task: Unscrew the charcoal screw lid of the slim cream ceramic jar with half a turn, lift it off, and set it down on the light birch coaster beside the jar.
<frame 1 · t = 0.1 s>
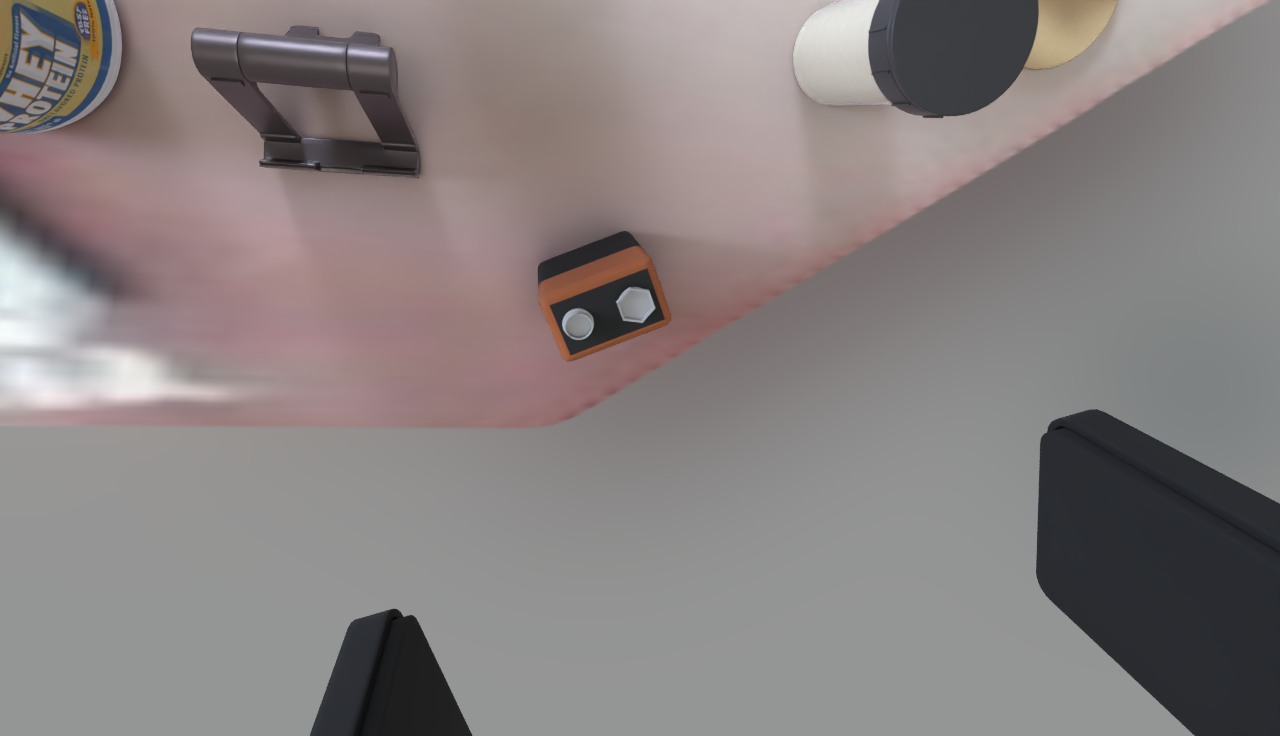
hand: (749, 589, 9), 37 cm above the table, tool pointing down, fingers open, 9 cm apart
lid: (960, 32, 30), point 13 cm above the table, screwed on, not yet turned
jar: (837, 55, 42), on the table
tablet stand: (342, 103, 39), on the table
supplement tub: (7, 12, 35), on the table
battery: (592, 274, 45), on the table
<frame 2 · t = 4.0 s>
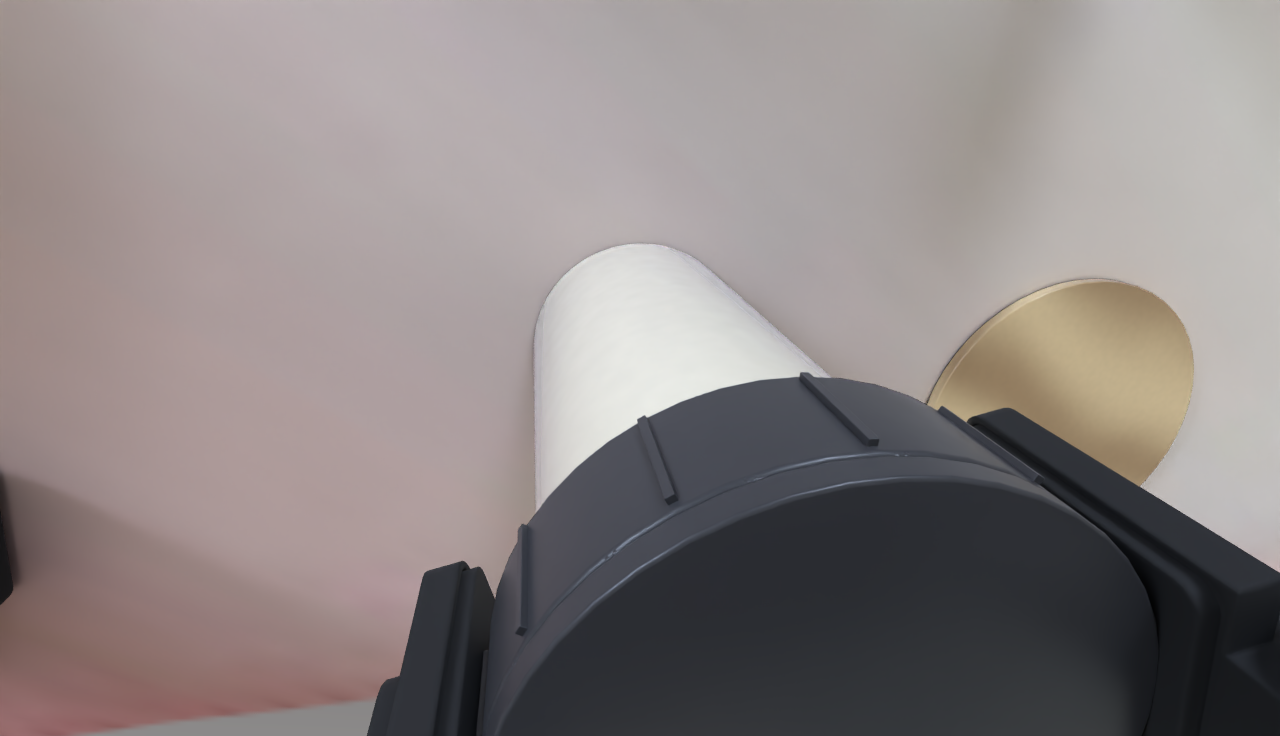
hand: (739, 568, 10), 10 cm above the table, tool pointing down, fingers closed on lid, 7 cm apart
jar: (637, 346, 19), on the table
coaster: (1051, 418, 22), on the table
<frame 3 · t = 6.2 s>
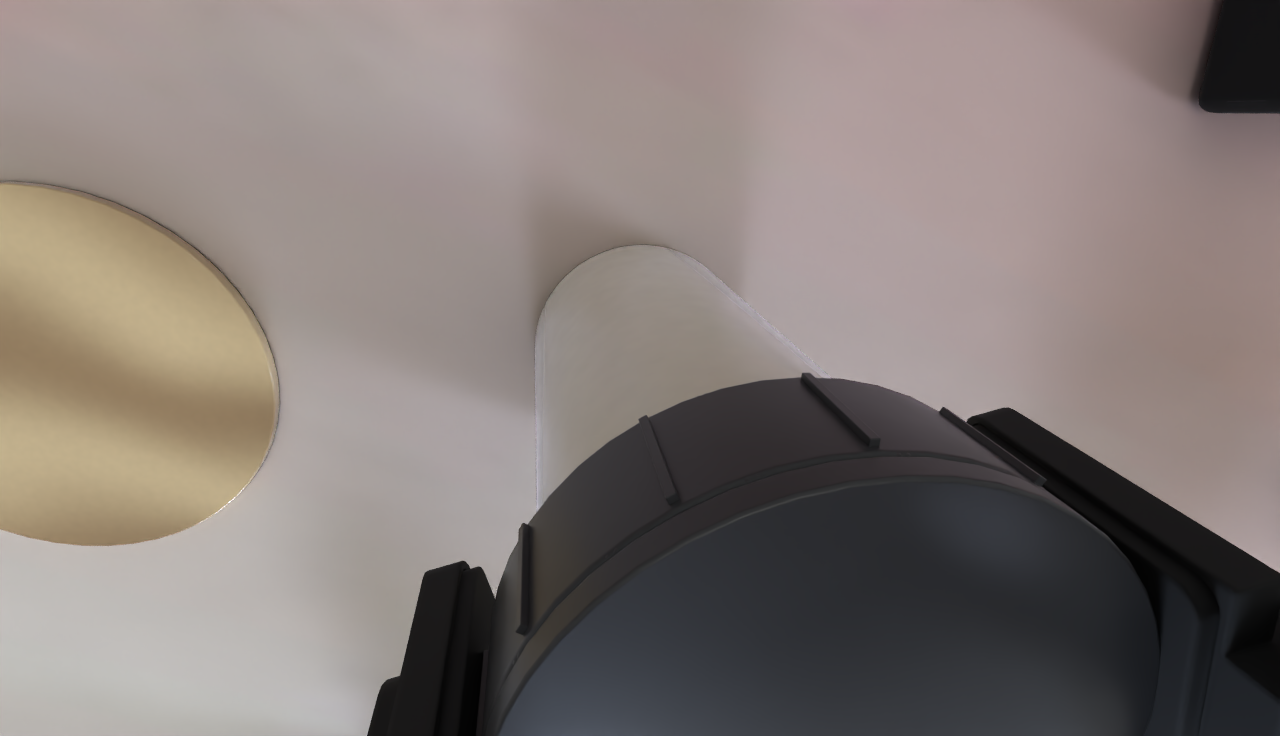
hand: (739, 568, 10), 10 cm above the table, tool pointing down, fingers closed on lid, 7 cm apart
jar: (638, 347, 19), on the table
coaster: (73, 378, 17), on the table
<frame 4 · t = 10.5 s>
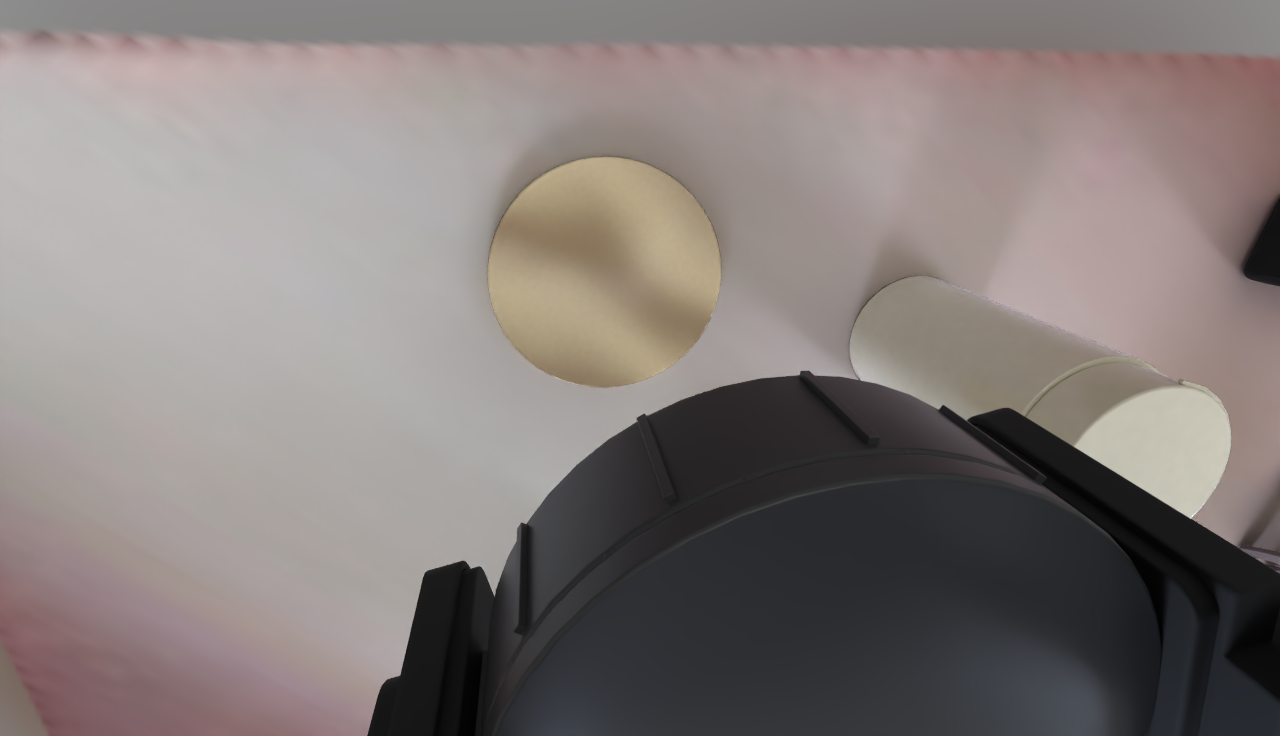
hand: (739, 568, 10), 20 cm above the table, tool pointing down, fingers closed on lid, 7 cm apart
jar: (908, 337, 31), on the table
coaster: (606, 277, 28), on the table
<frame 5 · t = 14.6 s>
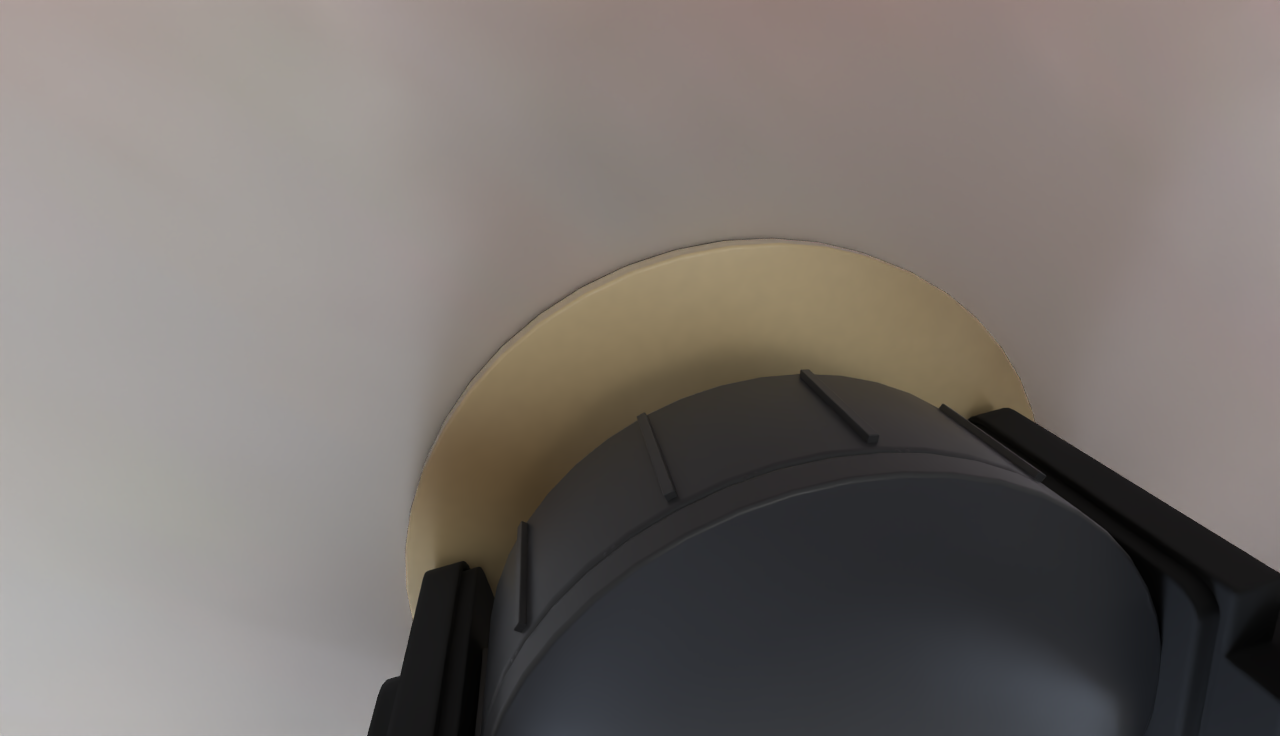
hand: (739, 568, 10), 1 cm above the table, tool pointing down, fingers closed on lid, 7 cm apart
coaster: (735, 550, 10), on the table
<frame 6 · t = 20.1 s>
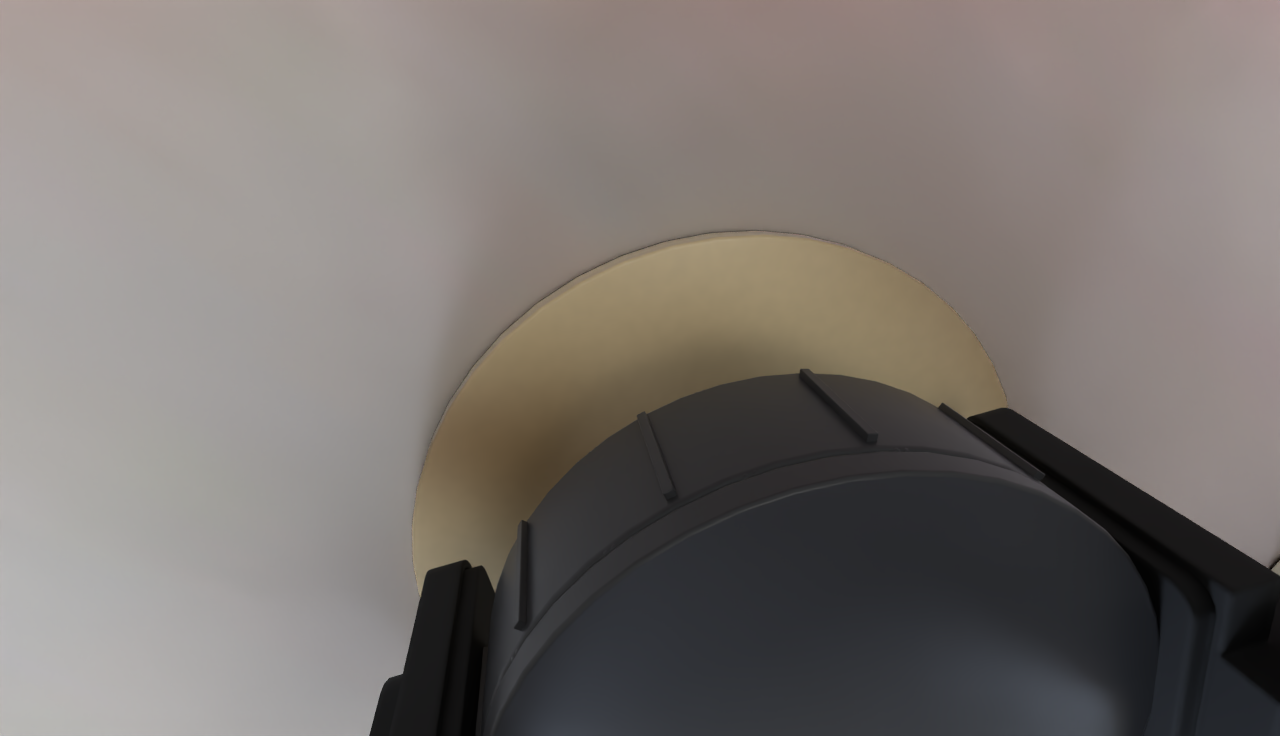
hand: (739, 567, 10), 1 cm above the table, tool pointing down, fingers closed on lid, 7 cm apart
coaster: (724, 528, 11), on the table
when the fingers open (1 cm above the table, at t = 25.4 s): lid drops 2 cm, resting on coaster.
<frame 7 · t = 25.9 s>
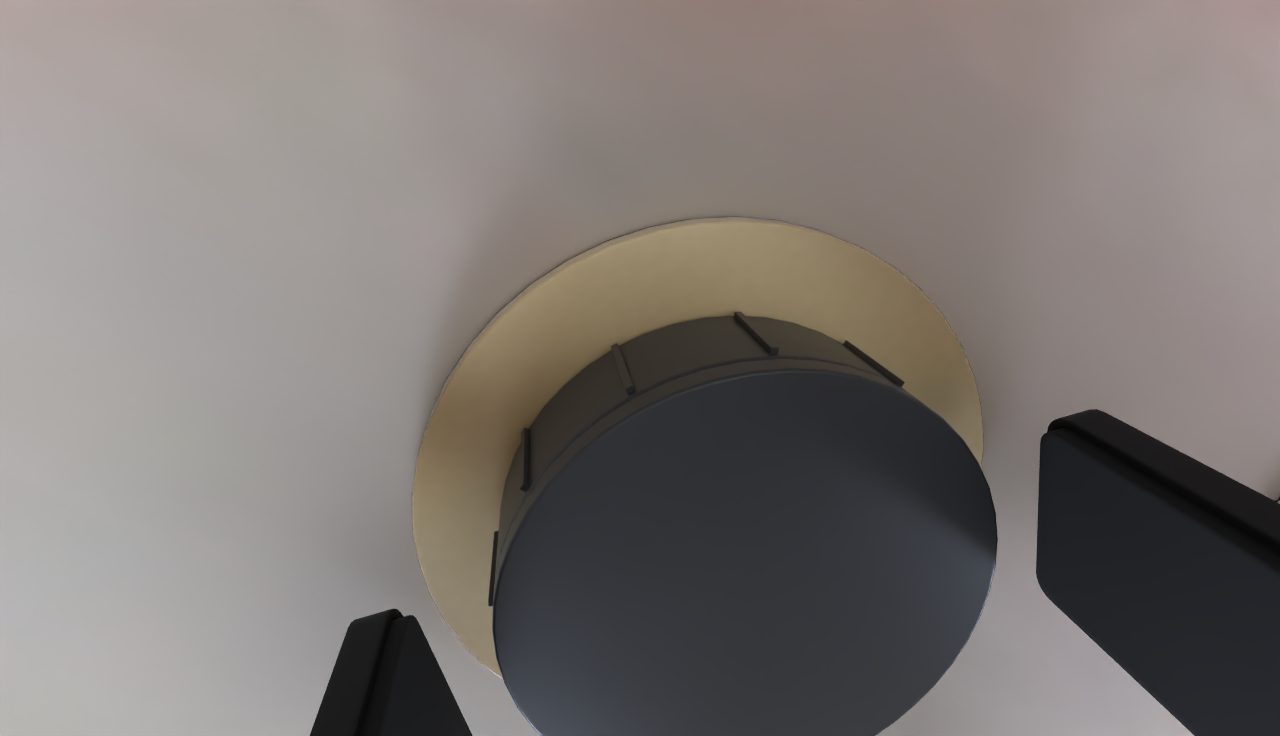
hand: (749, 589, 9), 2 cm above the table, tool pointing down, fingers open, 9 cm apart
lid: (748, 591, 9), point 2 cm above the table, off its thread, touching coaster
coaster: (708, 501, 11), on the table
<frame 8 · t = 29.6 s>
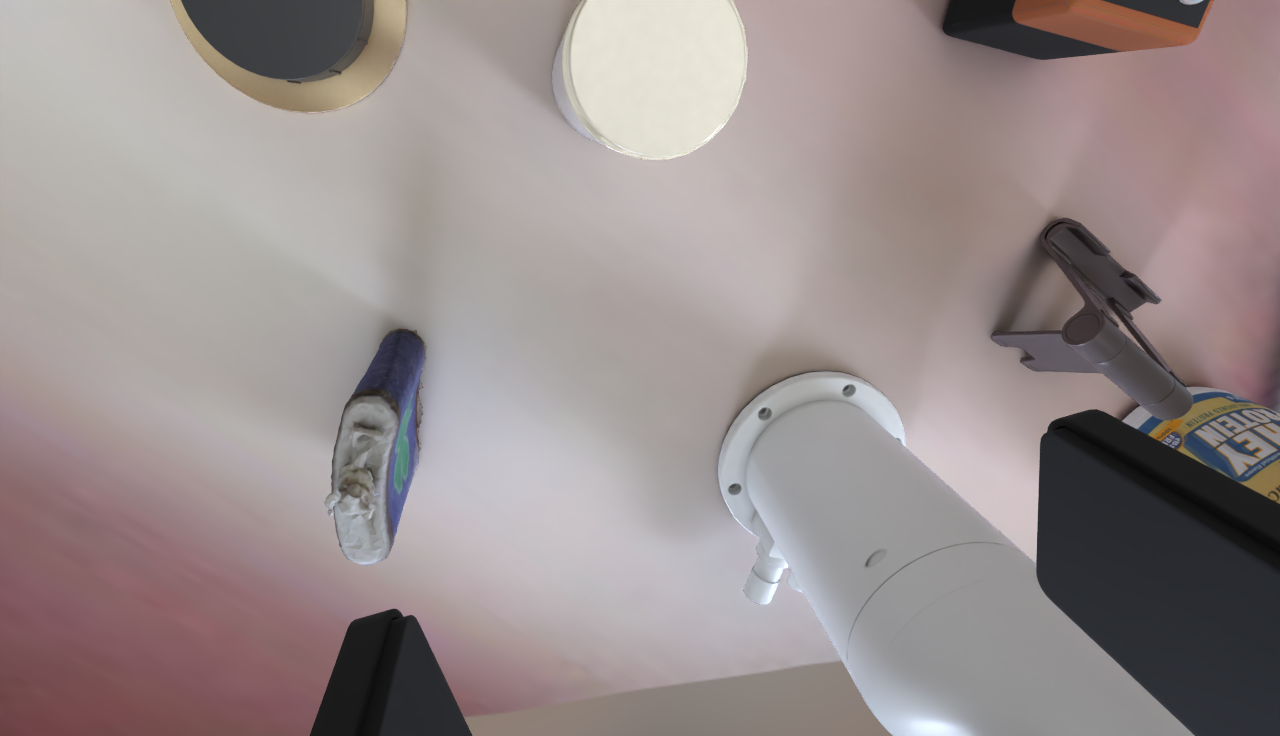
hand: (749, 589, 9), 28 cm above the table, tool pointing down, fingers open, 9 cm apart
jar: (612, 81, 33), on the table
flask: (400, 401, 37), on the table
tablet stand: (1050, 304, 42), on the table
supplement tub: (1155, 454, 48), on the table
battery: (1003, 5, 34), on the table
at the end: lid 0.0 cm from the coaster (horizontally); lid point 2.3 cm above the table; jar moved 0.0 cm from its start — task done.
